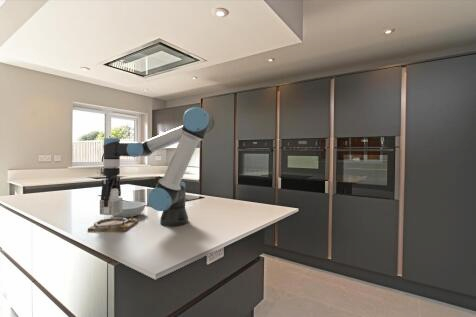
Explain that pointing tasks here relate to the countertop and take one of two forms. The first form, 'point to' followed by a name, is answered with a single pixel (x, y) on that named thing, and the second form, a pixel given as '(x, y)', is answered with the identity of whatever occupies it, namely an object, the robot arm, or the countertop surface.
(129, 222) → the gear board
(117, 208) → the container
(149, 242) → the countertop surface
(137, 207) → the serving bowl
